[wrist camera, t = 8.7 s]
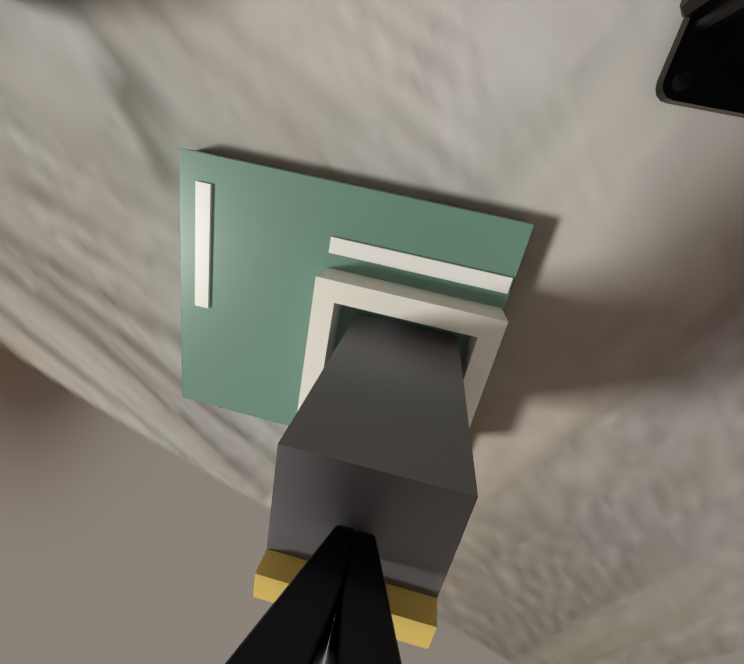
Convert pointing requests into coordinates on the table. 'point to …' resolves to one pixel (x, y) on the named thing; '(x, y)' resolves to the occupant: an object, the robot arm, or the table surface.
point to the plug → (378, 467)
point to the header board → (325, 278)
